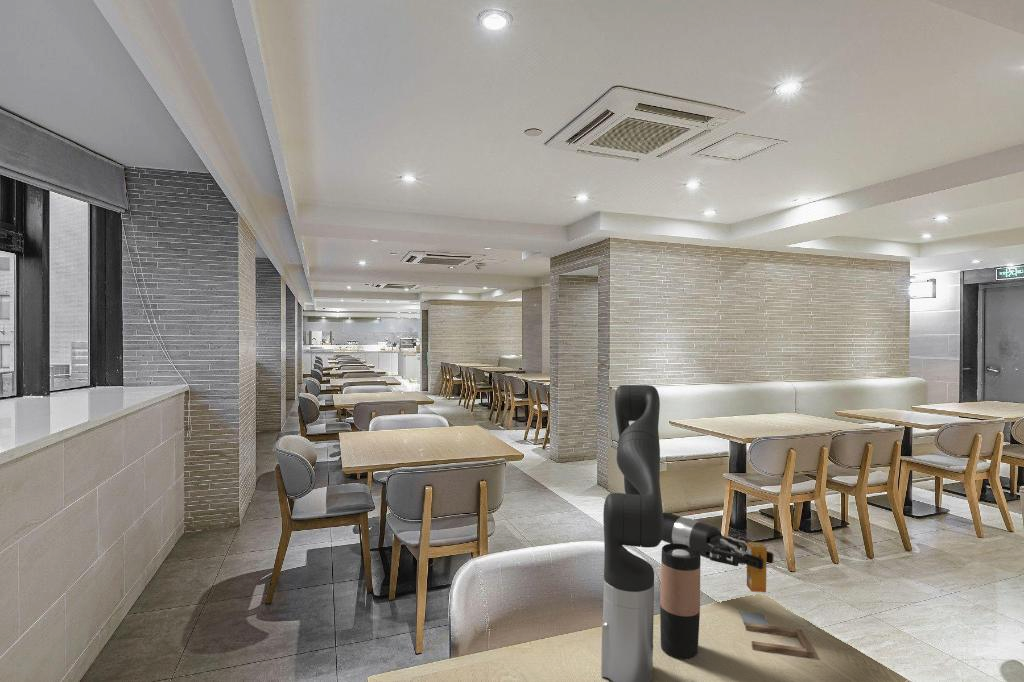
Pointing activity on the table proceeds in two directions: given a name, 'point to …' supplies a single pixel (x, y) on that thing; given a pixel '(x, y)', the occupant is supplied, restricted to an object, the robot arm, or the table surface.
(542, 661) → the table surface
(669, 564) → the travel mug
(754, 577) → the supplement box
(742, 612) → the coaster
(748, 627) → the wooden u-shaped frame
